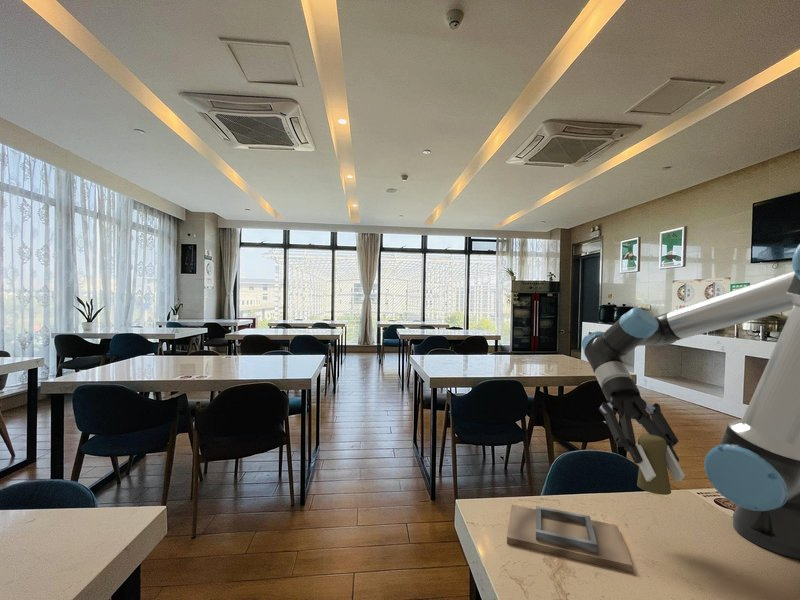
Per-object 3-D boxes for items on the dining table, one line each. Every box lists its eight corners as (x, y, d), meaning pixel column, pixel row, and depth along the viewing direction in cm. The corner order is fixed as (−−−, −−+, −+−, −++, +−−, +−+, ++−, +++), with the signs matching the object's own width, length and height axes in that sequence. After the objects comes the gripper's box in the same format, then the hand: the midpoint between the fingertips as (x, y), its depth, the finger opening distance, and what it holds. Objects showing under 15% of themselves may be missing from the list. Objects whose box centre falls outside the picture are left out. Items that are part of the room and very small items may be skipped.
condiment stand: (617, 530, 78) (617, 517, 79) (632, 572, 65) (632, 556, 66) (511, 509, 86) (511, 498, 86) (506, 543, 73) (506, 529, 73)
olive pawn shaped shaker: (677, 496, 74) (675, 441, 74) (644, 493, 75) (642, 439, 76) (662, 483, 80) (660, 432, 80) (632, 480, 81) (630, 430, 82)
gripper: (646, 393, 94) (700, 487, 76) (575, 392, 94) (613, 485, 76) (660, 375, 89) (721, 471, 71) (585, 374, 89) (628, 469, 71)
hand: (665, 478), depth 74 cm, fingers closed on olive pawn shaped shaker, 5 cm apart
